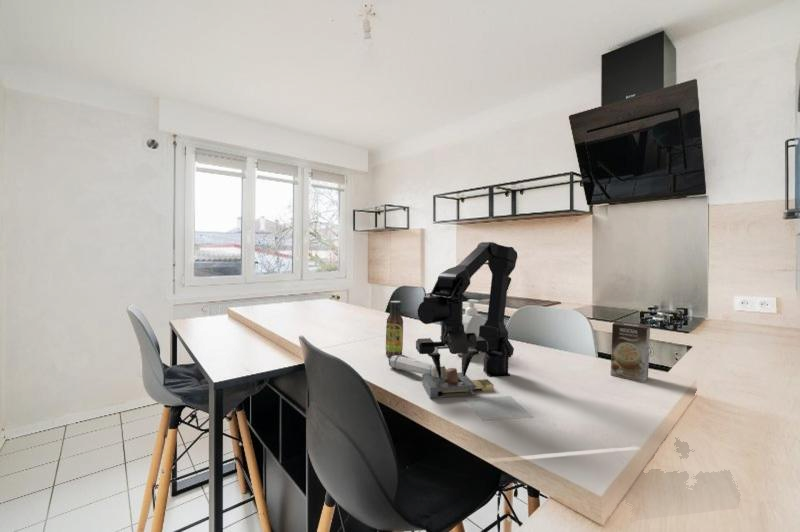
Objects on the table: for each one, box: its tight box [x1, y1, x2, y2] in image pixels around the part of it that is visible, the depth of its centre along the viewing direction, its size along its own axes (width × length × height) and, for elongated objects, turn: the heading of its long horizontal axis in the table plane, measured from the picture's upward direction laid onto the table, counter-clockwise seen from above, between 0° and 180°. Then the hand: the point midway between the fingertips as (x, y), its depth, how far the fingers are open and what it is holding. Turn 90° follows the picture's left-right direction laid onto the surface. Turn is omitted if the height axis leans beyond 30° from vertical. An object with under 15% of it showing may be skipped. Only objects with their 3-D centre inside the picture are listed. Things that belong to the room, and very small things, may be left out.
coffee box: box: [610, 320, 651, 383], centre depth 109 cm, size 9×6×16 cm
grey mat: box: [465, 395, 534, 422], centre depth 86 cm, size 12×12×1 cm
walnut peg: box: [446, 367, 459, 383], centre depth 96 cm, size 3×3×6 cm
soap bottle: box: [456, 299, 487, 356], centre depth 134 cm, size 16×5×20 cm, turn 137°
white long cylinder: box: [388, 354, 448, 383], centre depth 108 cm, size 5×7×25 cm
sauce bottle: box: [385, 300, 404, 358], centre depth 131 cm, size 6×6×20 cm
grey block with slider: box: [421, 371, 494, 400], centre depth 97 cm, size 18×10×3 cm, turn 98°
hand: (451, 376), depth 97 cm, fingers open, 6 cm apart
